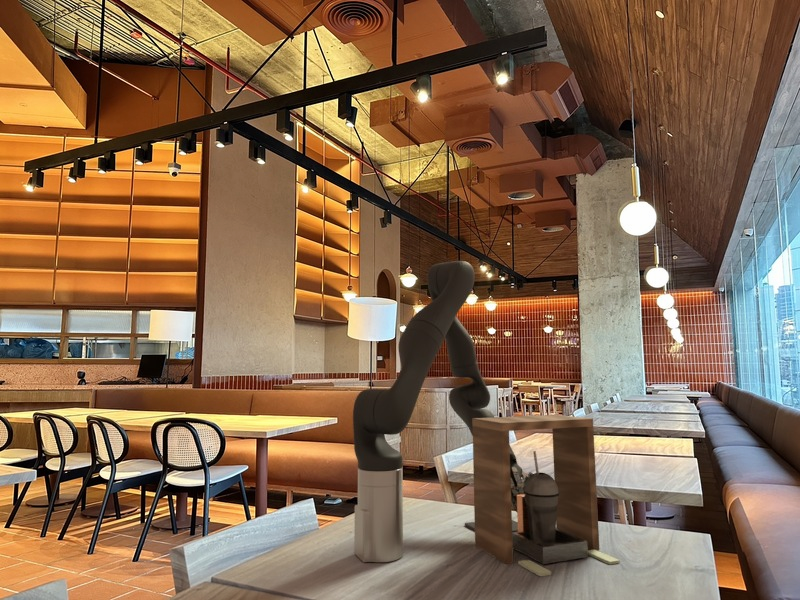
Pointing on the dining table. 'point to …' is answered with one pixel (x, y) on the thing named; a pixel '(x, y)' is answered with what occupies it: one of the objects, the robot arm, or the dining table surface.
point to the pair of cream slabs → (543, 572)
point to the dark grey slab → (514, 526)
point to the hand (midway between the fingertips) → (525, 514)
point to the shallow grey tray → (560, 551)
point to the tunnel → (569, 474)
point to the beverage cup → (541, 506)
